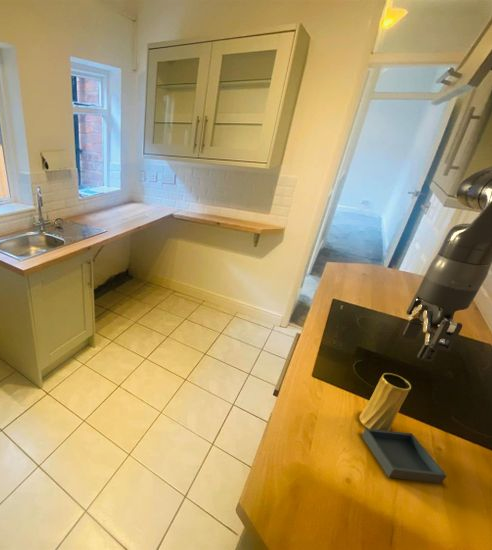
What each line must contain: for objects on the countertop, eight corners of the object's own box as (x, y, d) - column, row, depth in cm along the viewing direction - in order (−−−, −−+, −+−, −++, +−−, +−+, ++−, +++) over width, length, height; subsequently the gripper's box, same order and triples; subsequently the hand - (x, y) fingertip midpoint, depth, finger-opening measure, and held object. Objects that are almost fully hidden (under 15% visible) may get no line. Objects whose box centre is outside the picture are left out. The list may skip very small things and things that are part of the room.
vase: (354, 412, 78) (374, 370, 72) (379, 415, 78) (402, 372, 72) (367, 433, 73) (390, 389, 67) (395, 436, 72) (421, 392, 66)
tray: (407, 440, 71) (412, 433, 70) (441, 483, 63) (447, 475, 61) (361, 435, 72) (365, 428, 71) (388, 477, 64) (393, 469, 62)
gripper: (501, 301, 50) (454, 375, 57) (459, 269, 62) (425, 334, 69) (443, 291, 53) (405, 363, 60) (413, 263, 65) (384, 326, 72)
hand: (415, 347), depth 64 cm, fingers open, 8 cm apart
